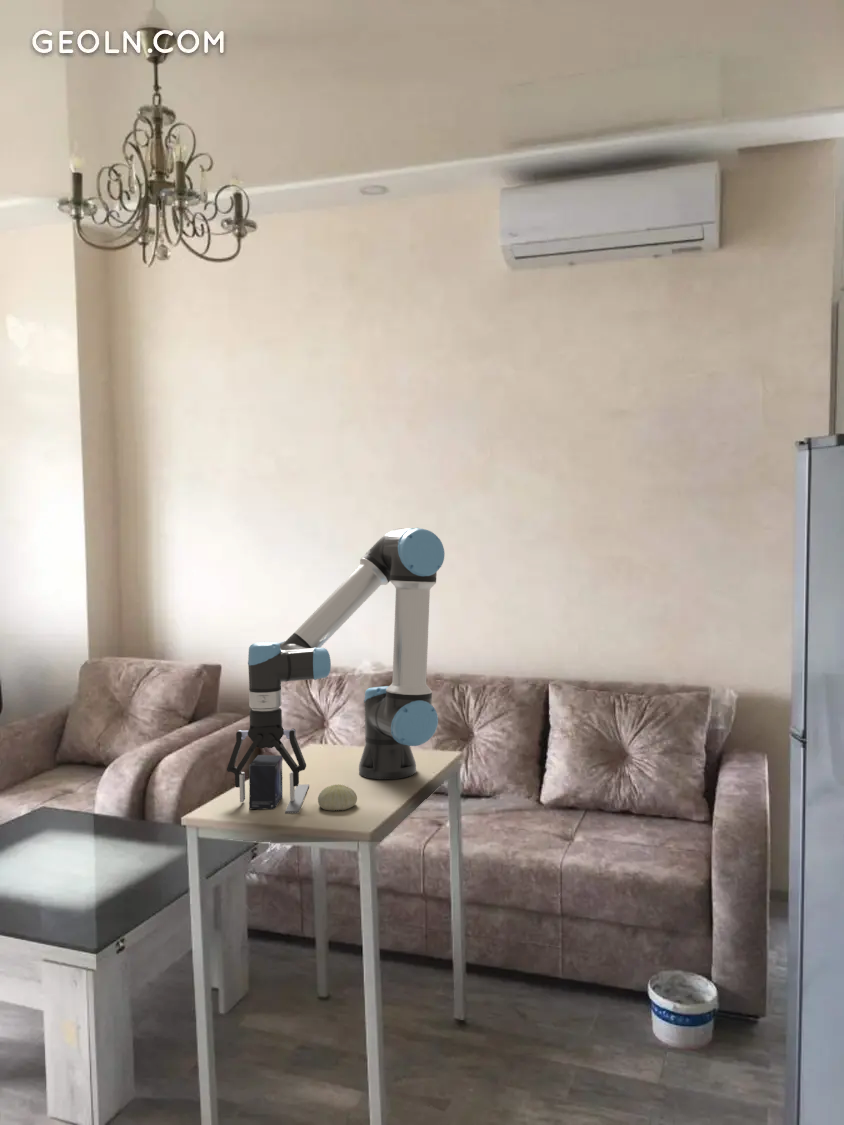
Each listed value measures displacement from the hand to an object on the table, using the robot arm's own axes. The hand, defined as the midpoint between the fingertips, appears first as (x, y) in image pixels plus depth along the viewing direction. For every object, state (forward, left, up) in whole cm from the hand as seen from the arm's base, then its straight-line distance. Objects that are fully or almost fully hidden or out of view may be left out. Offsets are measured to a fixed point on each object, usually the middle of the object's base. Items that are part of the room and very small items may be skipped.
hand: (267, 800), depth 227 cm
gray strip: (-7, -3, -1) cm, 7 cm away
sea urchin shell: (-17, +4, -1) cm, 17 cm away
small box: (0, 0, -1) cm, 1 cm away
